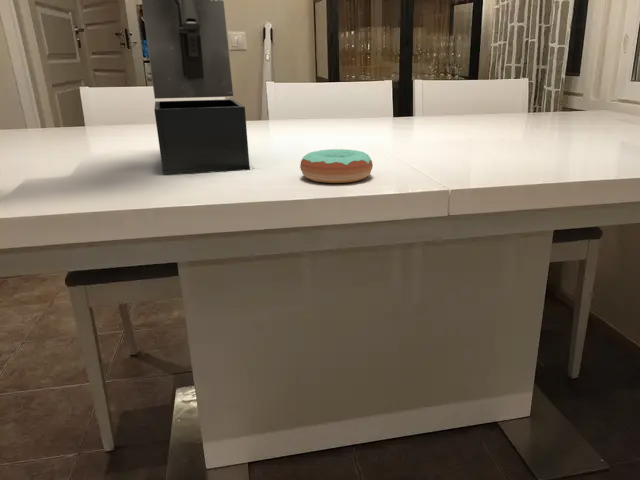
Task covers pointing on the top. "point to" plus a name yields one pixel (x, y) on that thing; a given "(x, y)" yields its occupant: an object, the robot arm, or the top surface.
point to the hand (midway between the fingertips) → (193, 77)
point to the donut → (336, 165)
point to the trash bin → (202, 136)
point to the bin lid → (168, 51)
